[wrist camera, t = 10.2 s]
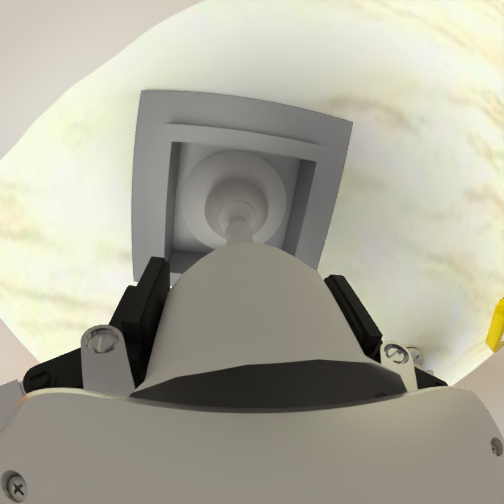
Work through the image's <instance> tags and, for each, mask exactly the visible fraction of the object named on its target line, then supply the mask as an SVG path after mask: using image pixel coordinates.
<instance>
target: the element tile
mask: <svg viewBox="0 0 504 504" xmlns="http://www.w3.org/2000/svg"><path fill="white" fill-rule="evenodd" d="M486 344H487V345H488V346H489V347H490V349H491V350H492V351H493V352H494V353H495V352H497V351H498V350H499V349H500V348H501V347H502V346H503V345H504V298H502V299H501V300H500V302H499V303H498V304H497V306H496V308H495V311H494V314H493V318H492V322H491V325H490V329H489V332H488V335H487V339H486Z"/></svg>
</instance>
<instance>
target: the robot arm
mask: <svg viewBox="0 0 504 504" xmlns="http://www.w3.org/2000/svg"><path fill="white" fill-rule="evenodd" d="M324 282H325V284H326V285H327V287H328V288H329V290H330V292H331V293H332V295H333V297H334V299H335V300H336V302H337V304H338V306H339V308H340V310H341V311H342V313H343V315H344V317H345V319H346V321H347V322H348V324H349V326H350V328H351V330H352V332H353V334H354V336H355V337H356V339H357V341H358V343H359V345H360V347H361V349H362V351H363V353H364V355H365V356H367V357H368V358H370V359H372V360H374V361H376V362H378V363H379V364H381V365H383V366H385V367H387V368H389V369H391V370H392V371H394V372H396V373H398V374H400V376H401V378H402V380H403V382H404V384H405V387H406V389H407V391H408V392H405V393H400V394H394V395H389V396H387V395H386V394H385V393H383V392H380V393H378V394H375V395H374V398H373V399H367V400H360V401H353V402H346V403H338V404H328V405H318V406H305V407H287V408H228V407H209V406H197V405H186V404H177V403H169V402H161V401H154V400H147V399H140V398H138V397H137V396H135V397H129V395H130V394H131V393H132V392H133V391H135V390H136V389H137V388H138V387H139V386H140V385H141V384H142V383H143V382H144V381H145V377H146V373H147V368H148V364H149V360H150V356H151V352H152V348H153V344H154V341H155V337H156V333H157V329H158V326H159V322H160V319H161V315H162V312H163V308H164V305H165V301H166V298H167V294H168V292H169V290H170V262H166V259H165V258H162V257H154V256H152V257H151V258H150V260H149V262H148V264H147V266H146V268H145V270H144V272H143V274H142V276H141V278H140V280H139V282H138V284H137V286H131V285H129V286H128V287H127V289H126V291H125V292H124V294H123V296H122V298H121V300H120V302H119V304H118V306H117V308H116V310H115V312H114V314H113V317H112V319H111V321H110V323H109V325H97V326H94V327H92V328H89V329H88V330H87V331H86V332H85V333H84V334H83V336H82V338H81V348H78V349H76V350H73V351H71V352H69V353H66V354H64V355H61V356H59V357H56V358H54V359H51V360H49V361H46V362H44V363H41V364H39V365H36V366H34V367H32V368H30V369H29V370H28V371H27V373H26V374H25V376H24V379H23V381H21V382H19V381H18V380H14V381H12V382H9V383H7V384H4V385H2V386H0V504H504V439H503V437H502V434H501V433H500V431H499V429H498V427H497V425H496V423H495V422H494V420H493V418H492V416H491V415H490V413H489V411H488V410H487V409H486V407H485V405H484V404H483V403H482V401H481V400H480V399H479V398H478V396H477V395H476V394H475V393H474V392H472V391H471V390H468V389H466V388H462V387H454V386H448V385H447V383H446V382H444V381H442V380H440V379H438V378H436V377H434V376H433V370H427V371H425V370H424V369H423V367H422V366H421V365H422V363H423V356H422V354H421V353H420V351H419V350H417V349H415V348H406V347H405V346H404V345H402V344H400V343H398V342H395V341H386V342H384V343H383V342H382V340H381V338H382V336H383V335H382V334H381V332H380V331H379V329H378V327H377V326H376V324H375V323H374V321H373V320H372V318H371V316H370V315H369V313H368V312H367V310H366V309H365V307H364V306H363V304H362V303H361V301H360V300H359V298H358V297H357V295H356V294H355V292H354V291H353V289H352V288H351V286H350V285H349V283H348V282H347V280H346V279H345V277H344V276H342V275H329V277H328V278H327V277H326V278H325V279H324Z"/></svg>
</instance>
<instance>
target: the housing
mask: <svg viewBox="0 0 504 504" xmlns="http://www.w3.org/2000/svg"><path fill="white" fill-rule="evenodd" d="M352 125H353V122H350V121H347V120H344V119H340V118H337V117H333V116H330V115H326V114H322V113H319V112H315V111H311V110H307V109H302V108H298V107H294V106H289V105H284V104H279V103H274V102H269V101H263V100H257V99H251V98H245V97H237V96H230V95H221V94H212V93H201V92H186V91H162V90H141V96H140V102H139V109H138V117H137V126H136V135H135V146H134V159H133V175H132V209H131V225H132V259H133V276H134V281H136V282H139V280H140V278H141V276H142V274H143V272H144V270H145V268H146V266H147V264H148V262H149V260H150V258H151V257H152V256H154V257H162V258H165V259H166V262H170V286H174V284H175V283H176V282H177V281H178V279H179V278H180V277H181V276H182V275H183V273H184V272H186V271H187V270H188V269H189V268H190V267H192V266H193V265H194V264H195V263H196V262H198V261H199V260H200V259H201V258H203V257H204V256H206V255H208V254H209V253H211V252H212V251H214V250H216V249H217V248H220V247H224V246H226V243H227V241H226V239H225V238H223V237H221V236H219V235H218V234H216V233H215V232H214V231H213V230H212V229H211V228H210V226H209V225H208V223H207V221H206V218H205V203H206V200H207V197H208V195H209V194H210V193H211V191H212V190H213V189H214V188H215V187H217V186H218V185H219V184H221V183H223V182H226V181H229V180H245V181H248V182H251V183H253V184H254V185H256V186H257V187H258V188H260V189H261V191H262V192H263V194H264V195H265V197H266V199H267V203H268V217H267V219H266V222H265V224H264V226H263V227H262V228H261V229H260V230H259V231H258V232H257V233H256V234H254V235H253V238H252V239H253V241H254V243H262V244H265V245H269V246H272V247H276V248H279V249H281V250H282V251H284V252H286V253H288V254H290V255H292V256H294V257H296V258H298V259H299V260H301V261H302V262H304V263H305V264H307V265H308V266H310V267H311V268H313V269H314V270H317V267H318V263H319V260H320V257H321V253H322V250H323V246H324V243H325V239H326V236H327V232H328V228H329V225H330V221H331V217H332V213H333V209H334V205H335V202H336V198H337V194H338V189H339V185H340V181H341V177H342V172H343V168H344V164H345V159H346V155H347V150H348V145H349V140H350V135H351V130H352Z"/></svg>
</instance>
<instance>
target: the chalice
mask: <svg viewBox="0 0 504 504" xmlns="http://www.w3.org/2000/svg"><path fill="white" fill-rule="evenodd" d="M267 217H268V203H267V199H266V197H265V195H264V194H263V192H262V191H261V189H260V188H258V187H257V186H256V185H254V184H253V183H251V182H248V181H245V180H229V181H226V182H223V183H221V184H219V185H218V186H217V187H215V188H214V189H213V190H212V191H211V193H210V194H209V195H208V197H207V200H206V203H205V218H206V221H207V223H208V225H209V226H210V228H211V229H212V230H213V231H214V232H215V233H216V234H218V235H219V236H221V237H223V238H225V239H226V241H227V243H226V246H224V247H220V248H217V249H216V250H214V251H212V252H211V253H209V254H208V255H206V256H204V257H203V258H201V259H200V260H199V261H198V262H196V263H195V264H194V265H193V266H192V267H190V268H189V269H188V270H187V271H186V272H184V273H183V275H182V276H181V277H180V278H179V279H178V281H177V282H176V283H175V284H174V286H173V287H172V288H171V289H170V290H169V292H168V294H167V298H166V301H165V305H164V308H163V312H162V315H161V319H160V322H159V326H158V329H157V333H156V337H155V341H154V344H153V348H152V352H151V356H150V360H149V364H148V368H147V373H146V377H145V381H144V382H143V383H142V384H141V385H140V386H139V387H138V388H137V389H136V390H135V391H133V392H132V393H131V394H130V395H129V397H135V396H137V397H138V398H140V399H147V400H154V401H161V402H169V403H177V404H186V405H197V406H209V407H228V408H287V407H305V406H318V405H328V404H338V403H346V402H353V401H360V400H367V399H373V398H374V395H375V394H378V393H380V392H383V393H385V394H386V395H387V396H389V395H394V394H400V393H405V392H408V391H407V389H406V387H405V384H404V382H403V380H402V378H401V376H400V374H398V373H396V372H394V371H392V370H391V369H389V368H387V367H385V366H383V365H381V364H379V363H378V362H376V361H374V360H372V359H370V358H368V357H367V356H365V355H364V353H363V351H362V349H361V347H360V345H359V343H358V341H357V339H356V337H355V336H354V334H353V332H352V330H351V328H350V326H349V324H348V322H347V321H346V319H345V317H344V315H343V313H342V311H341V310H340V308H339V306H338V304H337V302H336V300H335V299H334V297H333V295H332V293H331V292H330V290H329V288H328V287H327V285H326V284H325V282H324V281H323V279H322V278H321V276H320V275H319V273H318V272H317V271H316V270H314V269H313V268H311V267H310V266H308V265H307V264H305V263H304V262H302V261H301V260H299V259H298V258H296V257H294V256H292V255H290V254H288V253H286V252H284V251H282V250H281V249H279V248H276V247H272V246H269V245H265V244H262V243H254V241H253V239H252V238H253V235H254V234H256V233H257V232H258V231H259V230H260V229H261V228H262V227H263V226H264V224H265V222H266V219H267Z"/></svg>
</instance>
